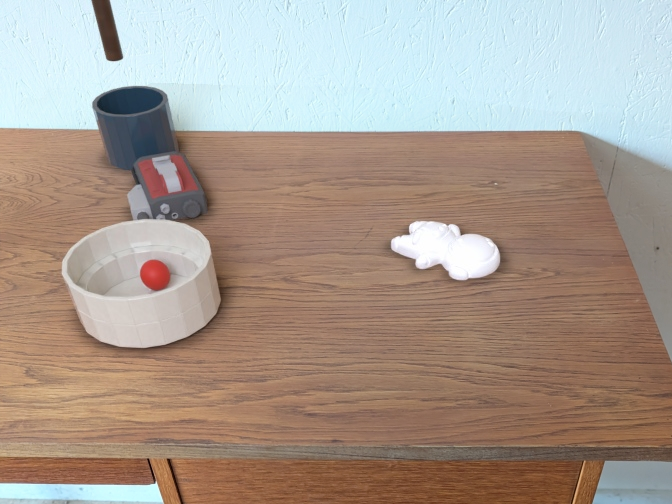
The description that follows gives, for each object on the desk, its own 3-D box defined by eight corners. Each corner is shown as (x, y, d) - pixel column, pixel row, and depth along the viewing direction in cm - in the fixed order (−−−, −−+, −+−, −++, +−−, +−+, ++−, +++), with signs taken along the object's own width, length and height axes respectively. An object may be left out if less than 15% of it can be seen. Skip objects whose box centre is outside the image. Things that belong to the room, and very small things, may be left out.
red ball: (140, 295, 75) (132, 269, 73) (148, 278, 77) (141, 253, 75) (169, 296, 75) (162, 270, 73) (176, 279, 77) (169, 254, 74)
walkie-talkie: (118, 182, 91) (149, 264, 80) (108, 146, 88) (138, 227, 76) (187, 169, 94) (227, 247, 82) (180, 134, 90) (220, 210, 78)
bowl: (62, 350, 70) (39, 296, 66) (106, 268, 79) (89, 216, 75) (204, 355, 70) (191, 302, 65) (233, 273, 79) (223, 221, 74)
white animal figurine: (425, 222, 85) (426, 197, 83) (513, 256, 81) (517, 231, 78) (380, 255, 81) (379, 230, 78) (471, 293, 76) (473, 267, 74)
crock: (99, 172, 93) (81, 115, 88) (120, 140, 99) (105, 84, 93) (170, 175, 93) (156, 117, 87) (187, 142, 98) (175, 86, 93)
